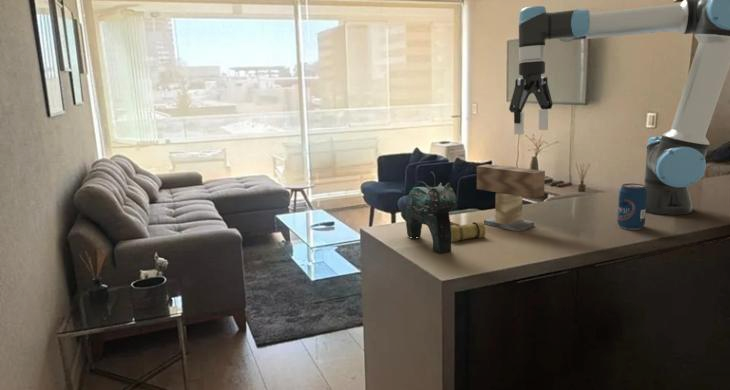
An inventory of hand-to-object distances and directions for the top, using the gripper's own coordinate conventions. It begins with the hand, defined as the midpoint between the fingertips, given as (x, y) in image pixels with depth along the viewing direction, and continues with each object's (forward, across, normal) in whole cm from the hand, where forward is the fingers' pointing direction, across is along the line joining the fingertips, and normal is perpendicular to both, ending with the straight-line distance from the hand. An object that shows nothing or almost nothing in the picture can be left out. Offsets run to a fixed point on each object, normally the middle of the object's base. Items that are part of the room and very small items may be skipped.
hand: (531, 132), depth 157 cm
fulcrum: (+26, +16, +2) cm, 30 cm away
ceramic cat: (+26, +46, -3) cm, 52 cm away
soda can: (+27, -5, +29) cm, 40 cm away
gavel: (+26, +31, -6) cm, 41 cm away
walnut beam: (+16, +16, +2) cm, 22 cm away
